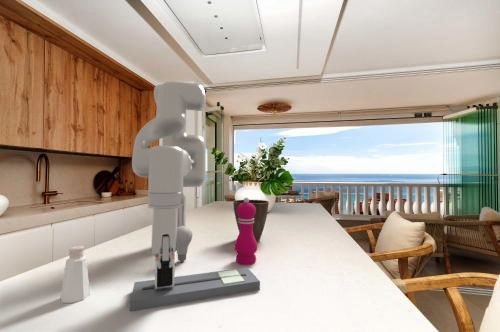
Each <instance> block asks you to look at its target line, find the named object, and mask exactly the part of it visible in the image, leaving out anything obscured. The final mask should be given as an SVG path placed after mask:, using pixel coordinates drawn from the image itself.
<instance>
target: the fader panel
mask: <svg viewBox="0 0 500 332" xmlns="http://www.w3.org/2000/svg"><path fill="white" fill-rule="evenodd" d="M260 286H261V281H260V280H259V278H257V276H256V275H255V274H254V273H253V272H252V271H251V269H250V268H248V267H241V268H240V267H239V268H232V269H227V270H226V269H225V270H218V271H211V272H203V273H196V274H187V275H179V276H174V287H168V288H161V289H155V279H150V280H140V281H134V283H133V288H132V291H131V296H130V301H129V312H131V311H133V312H134V311H139V310H140V311H141V310H144V309H150V308H157V307H163V306H169V305H175V304H181V303H187V302H192V301H198V300H205V299H211V298H216V297H223V296H229V295H235V294H242V293H247V292H253V291H254V292H255V291H259V290H261V289H260V288H261V287H260Z"/></svg>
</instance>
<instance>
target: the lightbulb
mask: <svg viewBox="0 0 500 332" xmlns="http://www.w3.org/2000/svg"><path fill="white" fill-rule="evenodd" d="M192 238H193V232H192V230H191V229H190V228H189V227H187V226H180V227H178V228H177V237H176V249H175V250H176V254H177V261H179V262H181V263H183V262H184V261H186V260H187V254H188V249H189V245H190V243H191V241H192Z"/></svg>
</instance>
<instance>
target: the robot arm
mask: <svg viewBox="0 0 500 332" xmlns="http://www.w3.org/2000/svg"><path fill="white" fill-rule="evenodd" d="M153 98H154V102H155V105H156V111H155V112H156V113H155V117H154V118H152V119H151V120H149V121H148V122H147V123H146V124H145V125H143V127H141V129H140V130H139V131H138V132H137V134H136V136H135V139H134V144H133V150H132V156H131V166H132V171H133V173H134V174H135V175H136V176H138V177H141V178H148V192H147V193H148V194H147V195H148V196H147V197H148V198H147V200H148V203H147V208H149V209H152V220H151V252H150V253H151V255H152V256H156V254H158V252H159V254H158V256H159V262H158V268H157V287H165V286H171V285H172V283H173V266H172V254H173V253H174V254H175V252H176V250H177V249H176V237H177V228H178V227H180V226H186V223H187V222H186V220H187V214H186V213H187V199H186V198H187V197H186V195H185V194H184V188H199V187H202V186H203V185H204V183H205V179H206V144H205V139H204V138H203V137H202V136H201V135H198V134H188V133H187V132H186V131H187V129H186V128H187V111H197V112H198V111H199V112H201V111H203V110H204V109H205V107H206V101H207V96H206V91H205V88H204V86H202V85H201V84H198V83H194V82H193V83H192V82H183V81H173V80H172V81H171V80H170V81H166V82H163V83H162V84H158V85H156V86H155V87H154V88H153ZM161 139H162V143H161V144H162V145H155V146H152V147H149V146H150V145H152V143H154V142H156V141H158V140H161ZM192 161H193V162H192ZM186 227H187V226H186ZM161 251H163V253H160V252H161ZM169 251H170V252H169ZM161 256H162V258H161Z"/></svg>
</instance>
